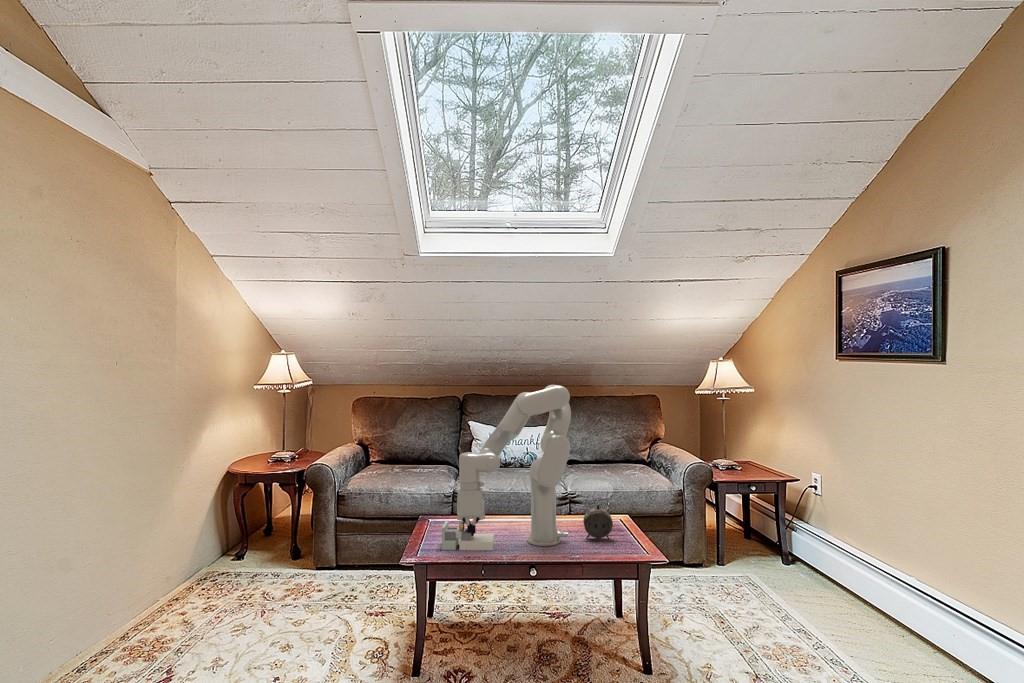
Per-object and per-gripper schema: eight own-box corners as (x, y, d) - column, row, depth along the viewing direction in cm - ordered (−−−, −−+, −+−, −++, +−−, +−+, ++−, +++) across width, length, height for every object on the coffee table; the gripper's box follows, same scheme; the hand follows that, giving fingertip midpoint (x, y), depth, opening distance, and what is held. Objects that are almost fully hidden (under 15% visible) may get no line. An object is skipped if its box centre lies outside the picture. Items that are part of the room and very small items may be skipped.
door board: (494, 541, 214) (494, 527, 214) (492, 550, 204) (492, 535, 204) (462, 541, 214) (462, 527, 215) (459, 550, 204) (459, 534, 205)
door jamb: (459, 541, 214) (458, 520, 215) (455, 550, 204) (455, 528, 205) (446, 541, 215) (446, 520, 215) (441, 550, 205) (441, 527, 205)
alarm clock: (611, 538, 218) (611, 496, 219) (613, 542, 212) (612, 499, 213) (583, 537, 218) (583, 495, 219) (584, 542, 213) (584, 499, 214)
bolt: (465, 535, 211) (465, 520, 212) (464, 538, 207) (464, 523, 208) (447, 535, 212) (447, 520, 212) (445, 538, 208) (445, 523, 208)
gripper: (490, 483, 214) (492, 531, 213) (451, 484, 214) (453, 533, 213) (489, 487, 206) (490, 538, 205) (448, 488, 207) (450, 539, 206)
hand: (471, 535), depth 209 cm, fingers closed
